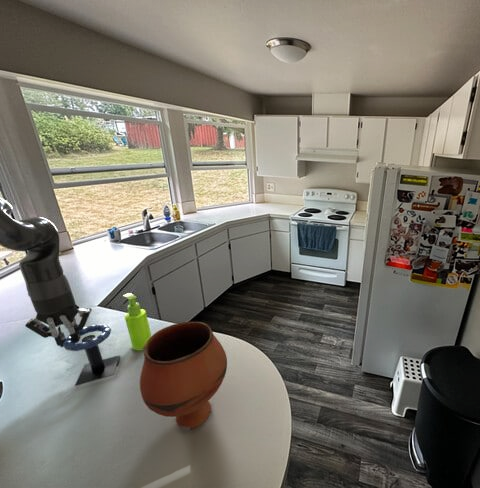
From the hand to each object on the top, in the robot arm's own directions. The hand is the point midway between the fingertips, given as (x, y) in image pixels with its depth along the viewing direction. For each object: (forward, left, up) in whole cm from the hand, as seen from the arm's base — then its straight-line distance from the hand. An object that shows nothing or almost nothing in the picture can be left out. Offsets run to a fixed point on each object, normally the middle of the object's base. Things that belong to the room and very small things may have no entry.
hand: (70, 343), depth 73 cm
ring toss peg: (+4, 0, -12) cm, 13 cm away
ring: (+4, 0, +1) cm, 4 cm away
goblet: (+30, -28, -13) cm, 43 cm away
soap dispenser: (+14, +9, -13) cm, 21 cm away
